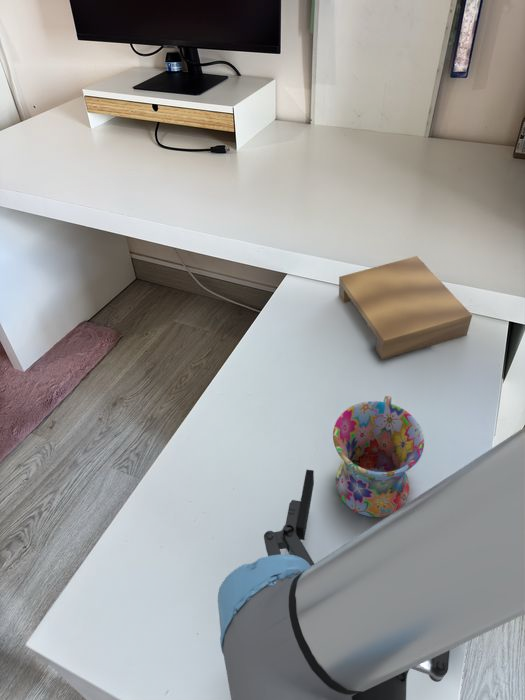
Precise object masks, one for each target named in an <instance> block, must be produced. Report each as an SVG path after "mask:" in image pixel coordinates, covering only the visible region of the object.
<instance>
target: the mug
mask: <svg viewBox="0 0 525 700" xmlns="http://www.w3.org/2000/svg"><path fill="white" fill-rule="evenodd" d="M332 439H333V446H334V447H335V450H336V452H337V454H338V456H339V457H340V458H341V459H342V462H341V464H340V465H339V467H338V469H337V471H336V474H335V487H336V491H337V493H338V496H339V497H340V500H342V502H343V503H344V504H345V505H346V506H347V507H348V508H349V509H350V510H352V511H353V512H355V513H357V514H360V515H362V516H366V517H370V518H382V517H387V516H389V515H391V514H392V513H394V512H395V511H397V510H398V509H400V508H401V507H403V506H404V505H405V503H406V502H407V499H408V497H409V493H410V481H409V478H408V474H407V473H406V472H407V471H409V470H410V469H412V468H413V467H414V466H416V464H418V462H419V460H420V459H421V457H422V455H423V452H424V448H425V437H424V433H423V429H422V427H421V425H420V424H419V422H418V421H417V419H416V418H415V417H414V416H413V415H412V414H411V413H409V411H407V410H405V409H404V408H402V407H400V406H398V405H396V404H393V403H392V396H389V395H385V396H384V399H383V401H378V400H370V401H368V400H367V401H363V402H360V403H356V404H353V405H351V406H350V407H348V408H347V409H345V410H344V411H343V412H342V413H341V414H340V415H339V417H337V420H336V421H335V424H334V427H333V432H332Z"/></svg>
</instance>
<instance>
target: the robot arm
mask: <svg viewBox="0 0 525 700" xmlns="http://www.w3.org/2000/svg"><path fill="white" fill-rule="evenodd" d="M314 475H315V474H314V470H312V469H306V470H305V475H304V479H303V480H304V481H303V486H302V491H301V496H300V500H296V499H292V500H291V501H290V502H289V505H288V509H287V515H286V521H285V525H284V526H283V527H282V529H281V530H279V531H273V530H266V532H265V533H264V534H263V540H264V541H263V542H264V545H265V550H266V554H267V556H263V557H260V558H257V559H256V561H254V562H251V563H245V564H242V565H240V566H238V567H237V568H235V569H234V570H232V571H231V572H230V573H229V574H228V575H227V576H226V577H225V578H224V579H223V581H222V582H221V584H220V586H219V589H218V593H217V607H218V609H217V610H218V615H219V629H220V630H219V631H220V635H219V636H220V637H219V642H220V650H221V653H222V655H223V658H224V664H225V673H226V677H227V683H228V688H229V695H230V700H407V683H408V682H407V681H408V674H409V671H410V670H414V671H417V672H420V673H423V674H426V675H427V676H428V677H429V678H430V680H431V681H433V682H435V683H438V682H441V681H442V680H443V679H444V677H445V676H446V674H447V673H448V671H449V663H450V651H451V650H453V649H455V648H457V647H460V646H461V645H464V644H465V643H468V642H470V641H472V640H474V639H476V638H478V637H480V636H482V635H484V634H486V633H488V632H490V631H493V630H495V629H497V628H500V626H503V625H505V624H507V623H509V622H512V621H514V620H515V619H518V618H520V617H522V616H524V615H525V426H524V427H523V428H521V429H520V430H518V431H516V432H514V433H513V434H512V435H510V436H509V437H507V438H506V439H504V440H502V441H500V442H499V443H498V444H496V445H495V446H493V447H492V448H490V449H489V450H487V451H485V452H484V453H482V454H481V455H479V456H478V457H477V458H475V459H473V460H471V462H469V463H467V464H466V465H464V466H462V467H461V468H459V469H458V470H456V471H455V472H454V473H452V474H450V475H449V476H447V477H446V478H444V479H443V480H441V481H439V482H438V483H437V484H435V485H434V486H432V487H431V488H429V489H427V490H426V491H424V492H423V493H421V494H419V495H418V496H416V497H415V498H413V499H412V500H410V501H409V502H407V503H406V504H403V505H402V507H400V508H399V509H398V510H397V511H395V512H394V513H392V514H390V515H387V516H385V517H384V518H383V519H381V520H380V521H378V522H377V523H375V524H374V525H372V526H370V527H369V528H367V529H366V530H364V531H363V532H361V533H359V534H358V535H356V536H355V537H353V538H351V539H350V540H349V541H347V542H346V543H344V544H343V545H341V546H340V547H338V548H337V549H335V550H334V551H332V552H331V553H329V554H327V555H326V556H324V557H323V558H321V559H320V560H318V561H317V562H314V560H313V559H312V557H311V555H310V554H309V552H308V550H307V549H306V547H305V546H304V544H303V542H302V541H305V539H306V533H307V527H308V522H309V521H308V520H309V515H310V509H311V503H312V497H313V491H314V486H315V477H314ZM301 540H302V541H301ZM281 550H286V551H287V554H286V553H281Z"/></svg>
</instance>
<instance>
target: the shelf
mask: <svg viewBox="0 0 525 700" xmlns="http://www.w3.org/2000/svg"><path fill="white" fill-rule="evenodd" d="M338 297H339V299H340V300H341V301H342V302H343V303H347V302H350V301H351V302H352V304H353V305H354V306H355V308H356V309H357V311H358V312H359V313H360V315H361V316H362V318H363V319H364V321H365V322H366V323H367V325H368V326H369V328H370V330H371V331H372V332H373V334H374V335H375V337H376V346H375V348H376V349H375V352H376V353H377V355H378V356H379V358H380V359H381V361H382V360H386V359H389V358H393V357H396V356H399V355H404V354H406V353H410V352H413V351H416V350H419V349H423V348H426V347H430V346H434V345H437V344H440V343H443V342H446V341H451V340H454V339H457V338H460V337H464V336H467V335H468V332H469V329H470V325H471V321H472V318H473V314H472V313H471V312H470V311H469V309H467V308H466V306H465V305H464V304H463V303H462V302H461V301H460V300H459V299H458V298H457V297H456V296H455V294H453V292H452V291H451V290H450V289H448V287H447V286H446V285H445V284H444V283H443V282H442V281H441V280H440V279H439V277H438V276H436V274H435V273H434V272H433V271H432V270H431V269H430V268H429V267H428V266H427V265H426V263H424V261H423V260H422V259H421V258H420V257H419V256H418V255H416V256H415V255H414V256H412V257H411V256H410V257H407V258H404V259H400V260H396V261H393V262H390V263H385V264H382V265H377V266H374V267H370V268H366V269H363V270H359V271H356V272H355V271H354V272H352V273H349V274H348V273H347V274H345V275H344V274H343V275H340V276H339V277H338Z"/></svg>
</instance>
